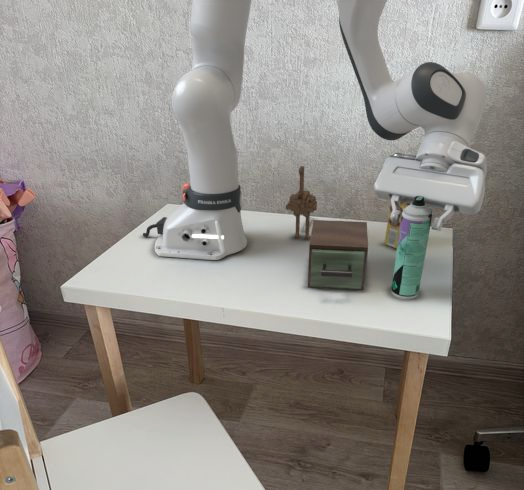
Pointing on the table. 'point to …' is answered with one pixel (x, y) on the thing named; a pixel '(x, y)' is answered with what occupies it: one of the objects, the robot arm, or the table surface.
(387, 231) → the candy box
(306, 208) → the ostrich figurine
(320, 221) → the cabinet
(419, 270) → the spray can
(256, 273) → the table surface
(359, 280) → the cabinet drawer
